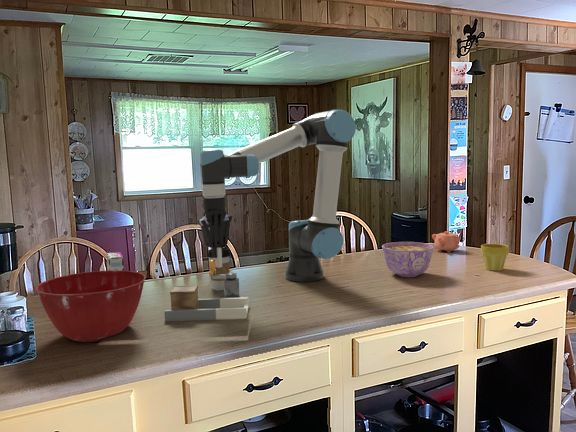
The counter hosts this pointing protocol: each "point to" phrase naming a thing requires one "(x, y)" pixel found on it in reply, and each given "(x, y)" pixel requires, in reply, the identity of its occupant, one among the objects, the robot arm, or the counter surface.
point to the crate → (184, 297)
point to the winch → (231, 289)
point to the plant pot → (494, 256)
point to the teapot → (446, 241)
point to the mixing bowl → (92, 303)
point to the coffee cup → (220, 269)
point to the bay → (212, 310)
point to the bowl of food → (407, 257)
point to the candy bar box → (115, 261)
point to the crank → (228, 275)
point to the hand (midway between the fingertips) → (218, 266)
